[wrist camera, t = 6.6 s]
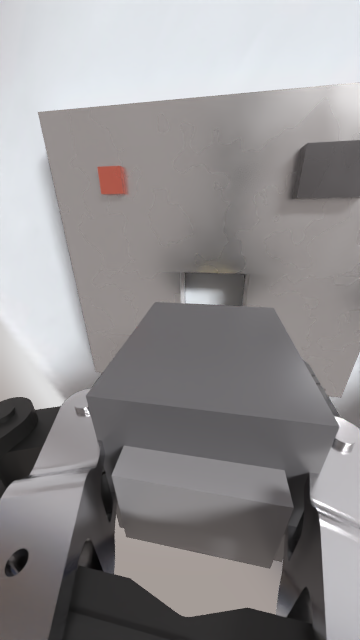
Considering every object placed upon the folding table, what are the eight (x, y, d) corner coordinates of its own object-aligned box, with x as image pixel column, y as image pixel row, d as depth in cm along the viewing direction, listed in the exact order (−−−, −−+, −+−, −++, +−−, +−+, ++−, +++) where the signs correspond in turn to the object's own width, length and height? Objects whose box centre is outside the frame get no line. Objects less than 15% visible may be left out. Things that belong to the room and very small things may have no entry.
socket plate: (63, 126, 13) (25, 105, 10) (428, 96, 10) (497, 58, 7) (107, 357, 20) (90, 378, 17) (328, 378, 17) (346, 406, 14)
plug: (166, 286, 10) (65, 422, 4) (264, 290, 10) (360, 464, 3) (169, 371, 13) (110, 555, 6) (249, 379, 12) (287, 598, 5)
